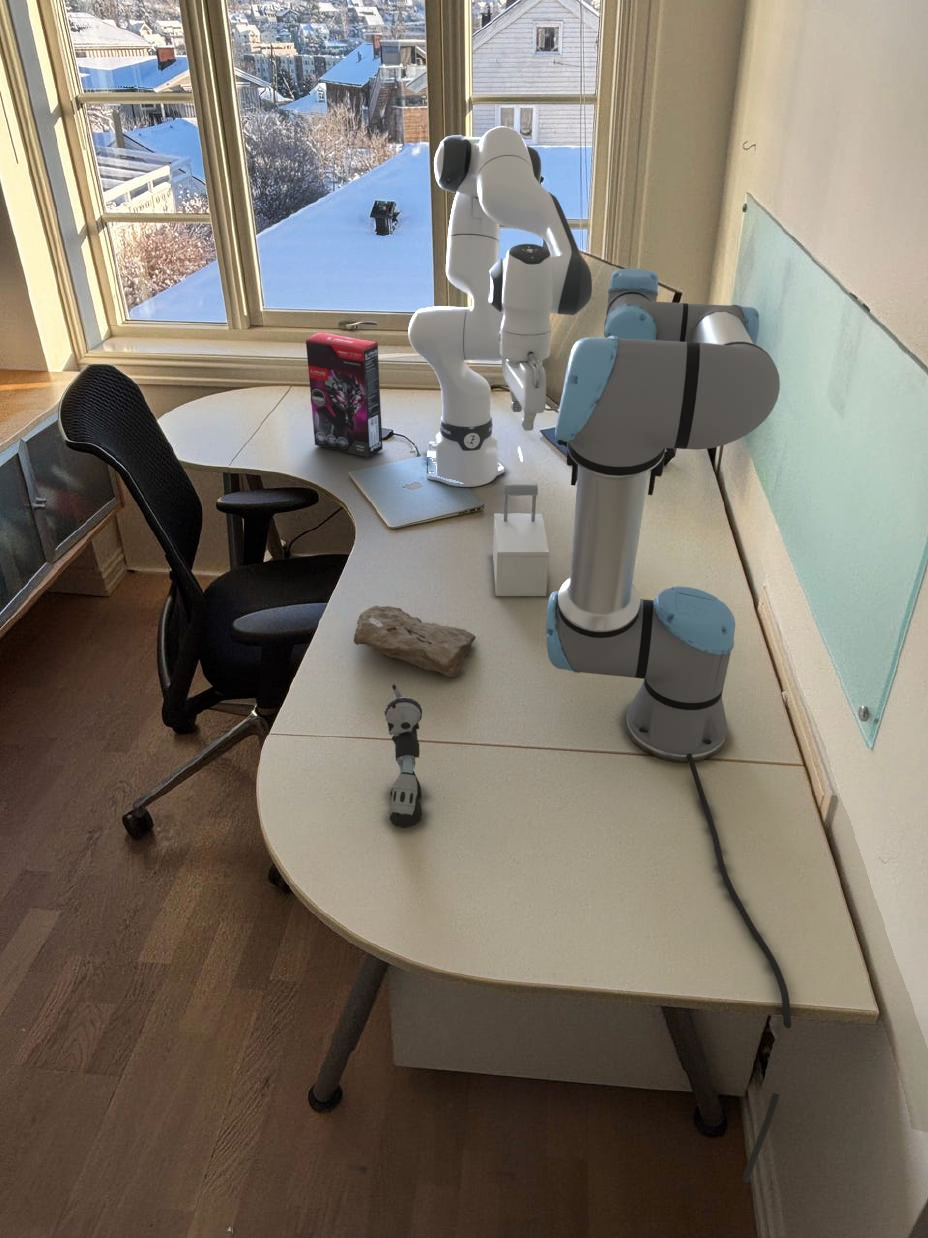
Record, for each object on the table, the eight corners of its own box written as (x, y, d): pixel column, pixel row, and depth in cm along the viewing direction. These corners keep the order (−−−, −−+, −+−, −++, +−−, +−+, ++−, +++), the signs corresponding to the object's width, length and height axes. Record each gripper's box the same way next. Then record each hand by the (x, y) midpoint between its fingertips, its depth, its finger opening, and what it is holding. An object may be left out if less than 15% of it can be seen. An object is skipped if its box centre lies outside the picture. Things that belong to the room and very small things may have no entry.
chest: (492, 557, 187) (494, 519, 183) (539, 557, 188) (542, 519, 183) (495, 596, 175) (497, 556, 170) (546, 596, 175) (548, 556, 170)
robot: (425, 859, 121) (422, 744, 110) (387, 860, 121) (381, 745, 110) (423, 757, 137) (420, 648, 126) (390, 758, 137) (385, 649, 126)
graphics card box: (312, 446, 233) (302, 338, 217) (328, 436, 238) (320, 330, 223) (369, 459, 226) (363, 349, 211) (384, 449, 231) (380, 341, 216)
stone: (330, 651, 154) (336, 619, 151) (363, 622, 167) (369, 592, 165) (447, 693, 150) (456, 661, 148) (471, 659, 164) (479, 629, 161)
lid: (493, 517, 183) (495, 477, 178) (542, 517, 183) (544, 477, 178) (497, 556, 170) (498, 514, 165) (548, 556, 170) (551, 514, 166)
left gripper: (557, 362, 154) (552, 440, 162) (530, 328, 171) (526, 400, 179) (520, 363, 153) (517, 442, 161) (496, 329, 170) (494, 401, 178)
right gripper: (703, 369, 152) (685, 487, 163) (554, 355, 157) (547, 470, 169) (700, 384, 146) (681, 505, 157) (545, 368, 151) (538, 486, 163)
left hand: (521, 419), depth 170 cm, fingers open, 8 cm apart
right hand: (612, 487), depth 163 cm, fingers open, 13 cm apart
